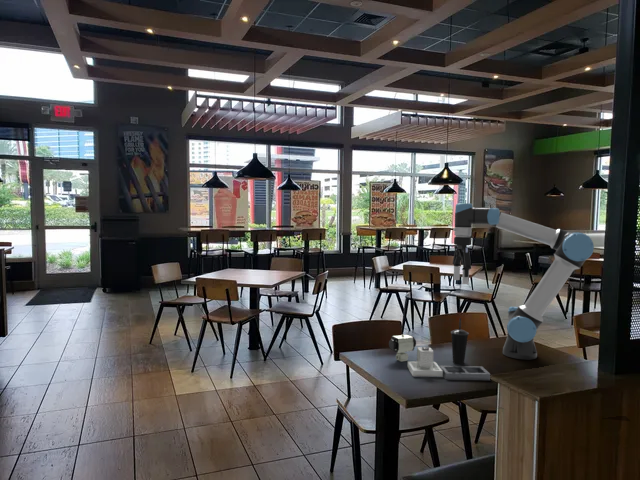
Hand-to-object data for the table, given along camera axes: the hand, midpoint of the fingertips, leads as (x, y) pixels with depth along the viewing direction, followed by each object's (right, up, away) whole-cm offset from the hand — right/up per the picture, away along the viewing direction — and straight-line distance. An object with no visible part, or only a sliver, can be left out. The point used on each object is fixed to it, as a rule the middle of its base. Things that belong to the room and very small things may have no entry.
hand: (460, 282), depth 228 cm
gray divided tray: (-6, -36, -27) cm, 46 cm away
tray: (-22, -36, -23) cm, 48 cm away
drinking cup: (-4, -35, -9) cm, 37 cm away
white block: (-22, -35, -23) cm, 47 cm away
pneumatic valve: (-29, -35, -8) cm, 46 cm away
